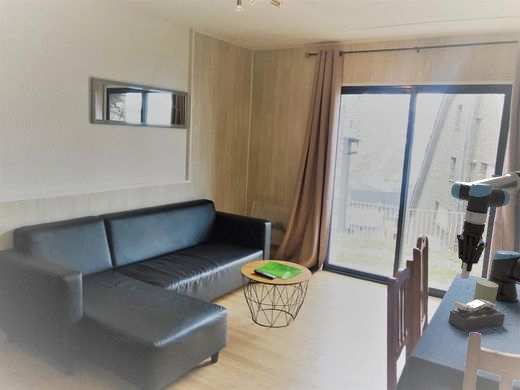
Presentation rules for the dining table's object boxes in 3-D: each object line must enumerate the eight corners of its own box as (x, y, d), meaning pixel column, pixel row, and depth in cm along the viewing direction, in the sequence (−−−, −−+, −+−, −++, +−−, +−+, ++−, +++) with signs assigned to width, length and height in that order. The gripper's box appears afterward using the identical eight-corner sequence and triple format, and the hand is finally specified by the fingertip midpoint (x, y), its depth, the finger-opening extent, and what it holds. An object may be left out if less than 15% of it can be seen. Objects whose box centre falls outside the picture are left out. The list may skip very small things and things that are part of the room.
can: (496, 312, 188) (501, 287, 186) (475, 309, 190) (479, 284, 188) (490, 304, 197) (494, 280, 195) (469, 300, 199) (473, 277, 196)
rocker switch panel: (486, 316, 182) (488, 303, 181) (502, 325, 175) (505, 311, 174) (448, 321, 174) (450, 308, 173) (464, 331, 167) (466, 317, 166)
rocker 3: (487, 304, 181) (488, 300, 181) (496, 309, 177) (497, 305, 177) (478, 302, 178) (479, 298, 178) (486, 306, 174) (488, 303, 174)
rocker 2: (476, 302, 178) (476, 299, 177) (485, 307, 174) (485, 303, 173) (466, 307, 176) (466, 303, 176) (474, 311, 172) (474, 308, 172)
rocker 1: (463, 307, 175) (464, 303, 175) (471, 312, 171) (473, 308, 171) (453, 305, 173) (455, 301, 173) (462, 309, 169) (463, 306, 169)
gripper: (454, 218, 169) (445, 272, 174) (481, 226, 158) (471, 284, 162) (468, 217, 172) (458, 271, 176) (495, 226, 160) (485, 283, 164)
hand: (464, 277), depth 169 cm, fingers closed
